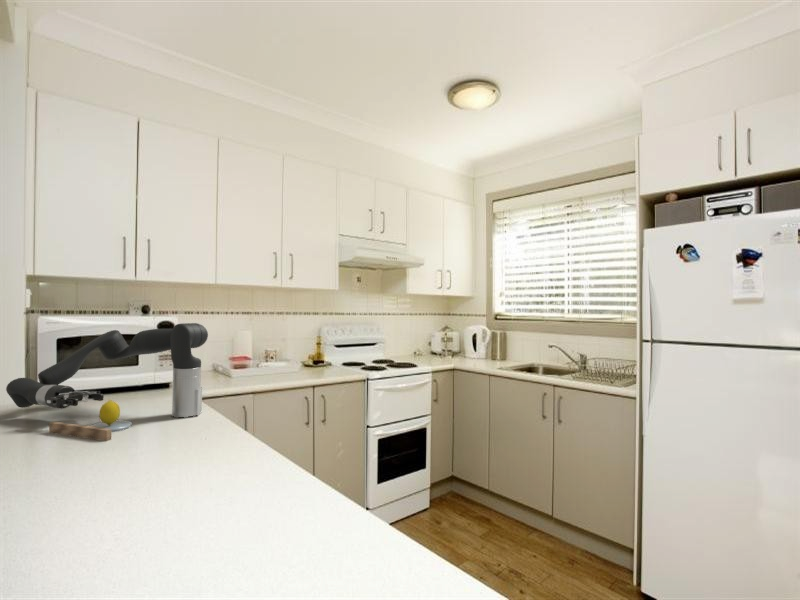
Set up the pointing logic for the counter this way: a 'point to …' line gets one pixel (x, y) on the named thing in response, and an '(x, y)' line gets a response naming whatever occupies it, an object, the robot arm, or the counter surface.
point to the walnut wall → (80, 431)
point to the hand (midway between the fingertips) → (90, 399)
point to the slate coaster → (113, 425)
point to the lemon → (109, 412)
